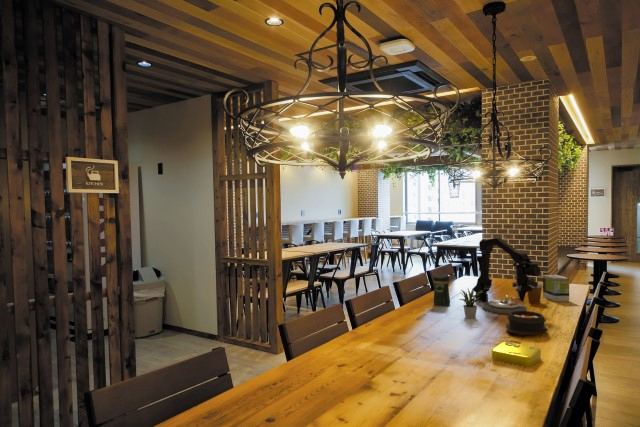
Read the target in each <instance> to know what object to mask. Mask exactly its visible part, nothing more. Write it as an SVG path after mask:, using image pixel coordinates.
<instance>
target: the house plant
mask: <svg viewBox="0 0 640 427" xmlns="http://www.w3.org/2000/svg"><path fill="white" fill-rule="evenodd" d="M467 291H468V292H465V291H464V290H463V289H461V291H460V292H459V294H461V295H462V296H463V297H464V298H459V299H458V300H459V301H463V302H464V304H463V311H464V316H465V318H466V317H467V319H470V318H473V319H476V316H477V310H478V307H477V305H476V304H477V301H480V300H478V298H477V299H476V296H477V295H478V294H479V293H483V292H482V291H480V292H478V293H477V294H476V293H475V292H474V290H473V288H472V289H471V291H470V289H469V288H467ZM474 293H475V294H474ZM479 295H480V294H479Z"/></svg>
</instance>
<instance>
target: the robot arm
mask: <svg viewBox="0 0 640 427" xmlns="http://www.w3.org/2000/svg"><path fill="white" fill-rule="evenodd" d="M478 246H479V247H478V248H479V250H480V252H481V257H480V258H481V259H480V260H481V261H480V274H479V277H478V279H477V280H476V285H475V286H474V287H472V289H473V290H474V291H473V292H474V293H475V295H476V294H477V293H478V292H480V291H482V292H483V293H479V294H480V295H479V294H478V295H477V296H476V298H475V299H477V298H478V300H480V301H479V302H480V303H487V302H488V301H489V294H488V292H489V291H490V289H491V287H492V285H493V284H492V283H493V280H492V279H491V278H490V262H491V261H490V259H491V253H492V251H493V249H494V246H497V247H498V248H499V249H501V250H502V251H504V252H505V253H507V254H508V255H509V256H510V258H511V260H512V261H513V262H514V263H513V264H512V267H515V276H514V277H515V281H513V282H512V284H511V287H513V288H515V287H516V288H515V289H514V290H515V292H516V294H517V296H518V297H519V298H520V300H521V301H522V302H523V301H524V302H525V297H526V294H527V292H528V291H532V287H531V286H534V287H536V288H537V285H538V283H539V281H535V278H532V277H529V276H533V277H538V276H540V275H541V273H542V272H541V269H540V266H539V264H538V263H533V262H532V261H531V259H530V257H529V255H528V254H527V253H526V252H524V251H523V250H518V249H516V248H514V247H513V246H512V245H511V244H509V243H508V242H506V241H505V240H503V239H502V237H494V238H490V239H481V240H480V241H479V243H478ZM529 285H531V286H529ZM486 301H487V302H486ZM479 302H478V303H479Z"/></svg>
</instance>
